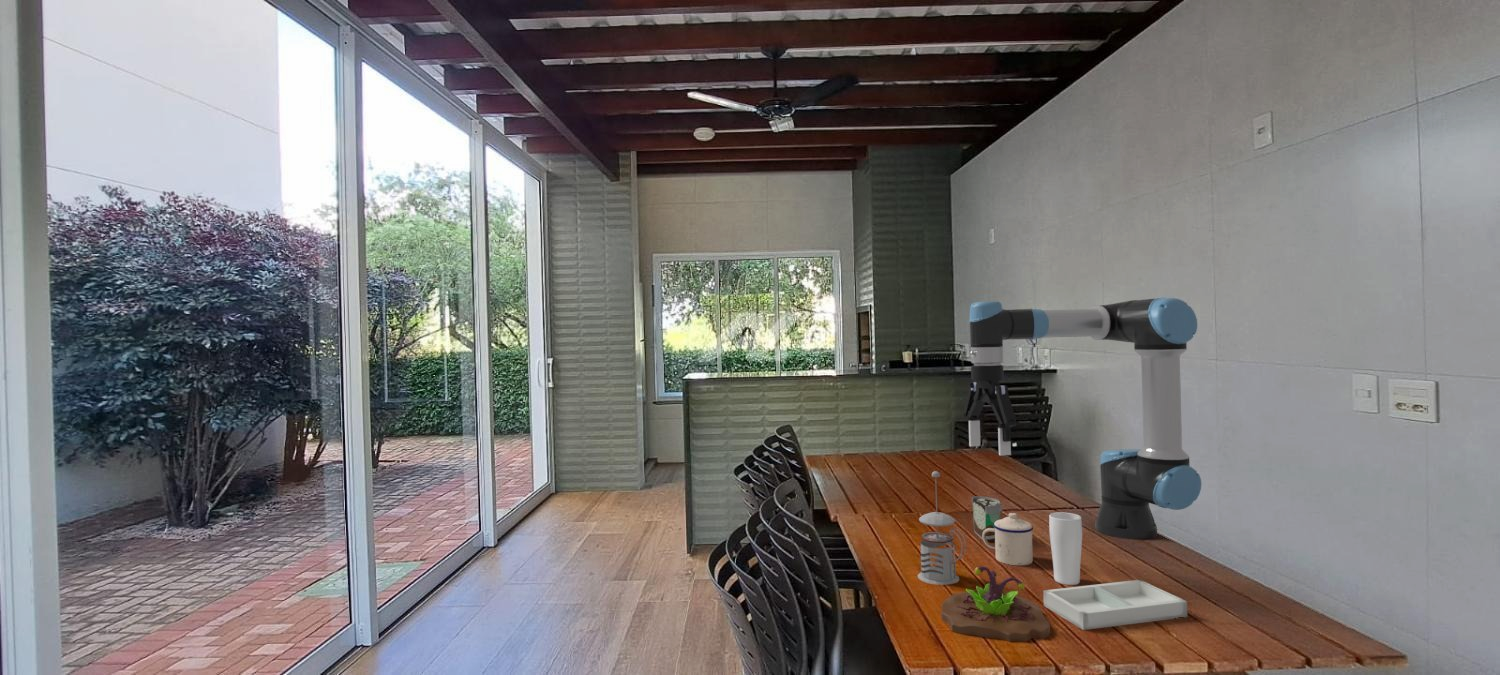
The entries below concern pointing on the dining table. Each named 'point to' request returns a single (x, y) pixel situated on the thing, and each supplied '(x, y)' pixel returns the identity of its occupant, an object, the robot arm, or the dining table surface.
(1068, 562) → the drinking glass
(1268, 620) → the dining table surface
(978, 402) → the robot arm
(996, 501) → the food container
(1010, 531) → the teacup with lid
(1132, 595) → the divided tray
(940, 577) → the french press
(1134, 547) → the dining table surface
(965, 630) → the plant
